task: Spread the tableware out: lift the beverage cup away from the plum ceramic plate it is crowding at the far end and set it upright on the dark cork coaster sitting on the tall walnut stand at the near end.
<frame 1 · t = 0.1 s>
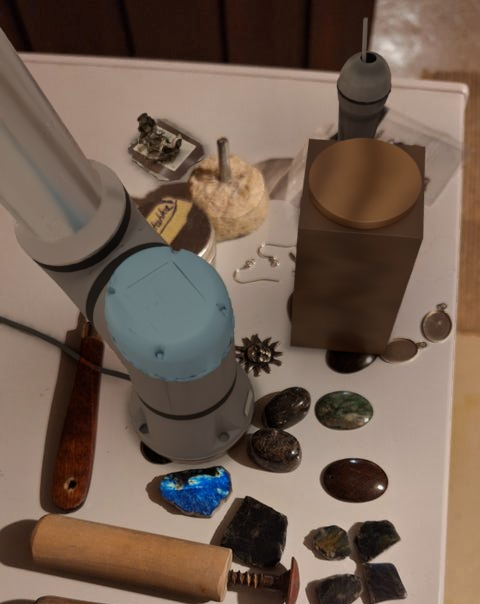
beverage cup: (352, 155, 95), on the table
cork coaster: (363, 186, 63), resting on walnut stand
plum plate: (348, 211, 90), on the table
walnut stand: (339, 311, 83), on the table
figurine on square base: (166, 152, 96), on the table
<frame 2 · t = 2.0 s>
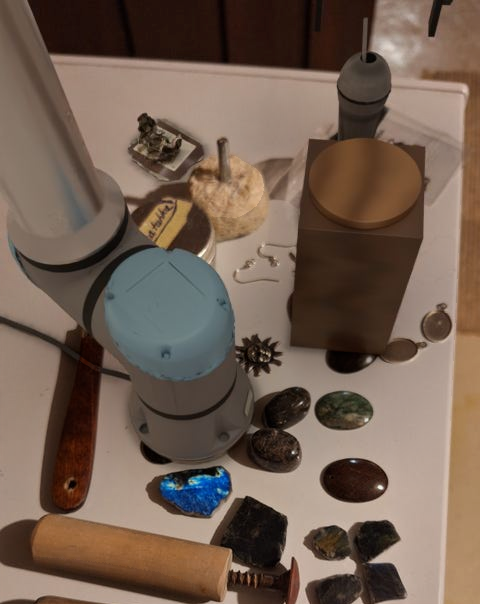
hand: (374, 27, 77), 19 cm above the table, tool pointing down, fingers open, 13 cm apart
nothing on the table moved.
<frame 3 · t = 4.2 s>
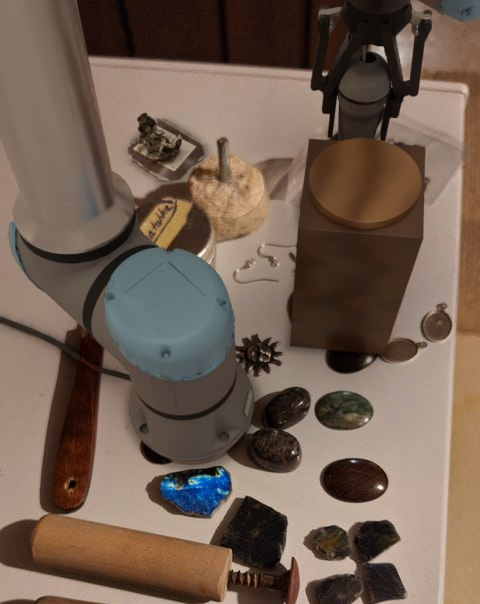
hand: (356, 132, 91), 4 cm above the table, tool pointing down, fingers closed on beverage cup, 7 cm apart
beverage cup: (352, 155, 95), on the table, touching gripper
everything else where it was.
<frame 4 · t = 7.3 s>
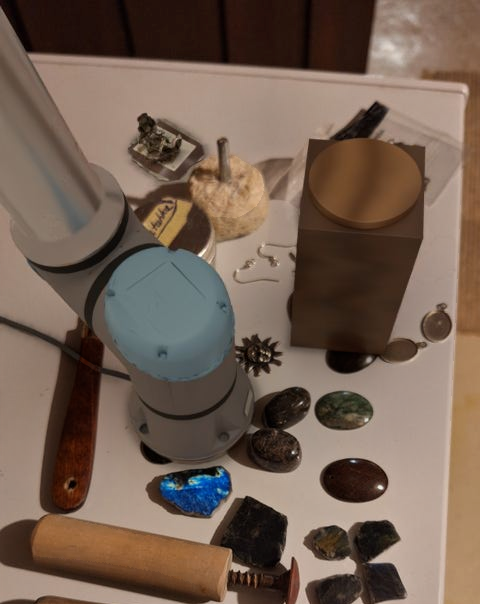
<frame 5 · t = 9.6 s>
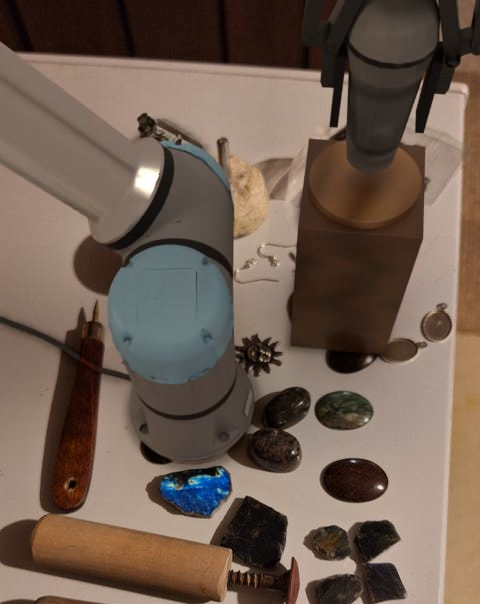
hand: (376, 118, 56), 30 cm above the table, tool pointing down, fingers closed on beverage cup, 7 cm apart
beverage cup: (369, 156, 60), point 26 cm above the table, touching gripper
everything else where it was.
when the fingers open (27 cm above the table, at t = 10.8 s): beverage cup stays where it is, resting on cork coaster.
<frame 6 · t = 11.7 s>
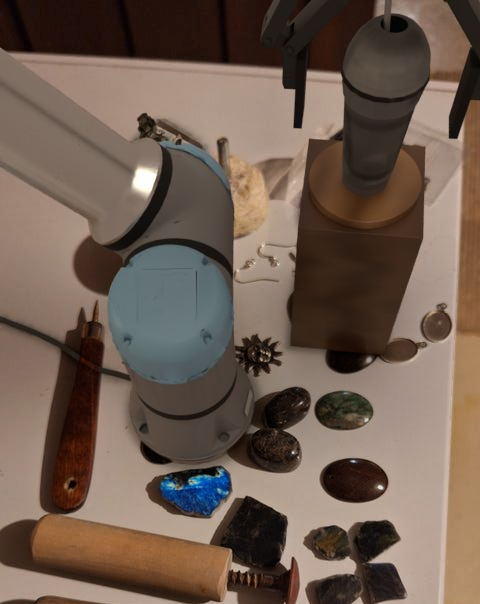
hand: (375, 123, 56), 29 cm above the table, tool pointing down, fingers open, 13 cm apart
beverage cup: (364, 179, 62), point 23 cm above the table, touching cork coaster
everything else where it was.
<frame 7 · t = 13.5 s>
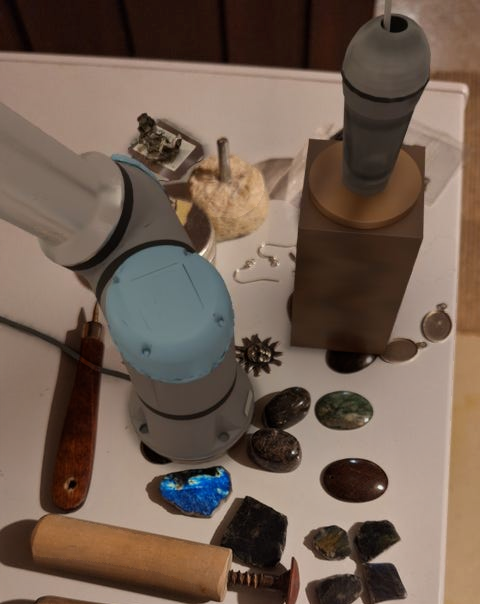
nothing on the table moved.
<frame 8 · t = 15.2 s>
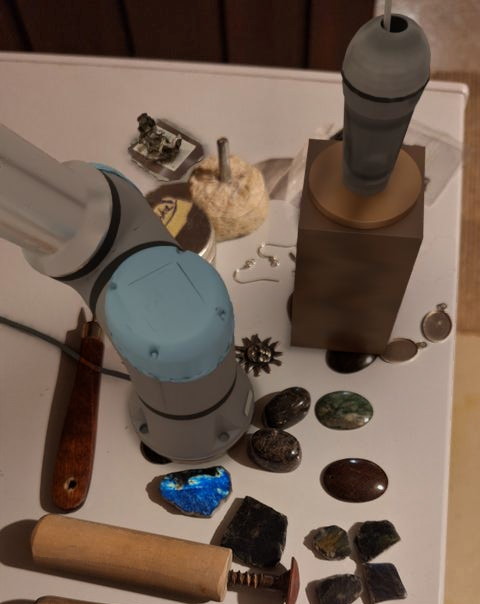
nothing on the table moved.
at the end: beverage cup 0.0 cm off-centre on the cork coaster, point 0.8 cm above the cork coaster's base; beverage cup tilted 0°; the gripper is holding nothing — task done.
